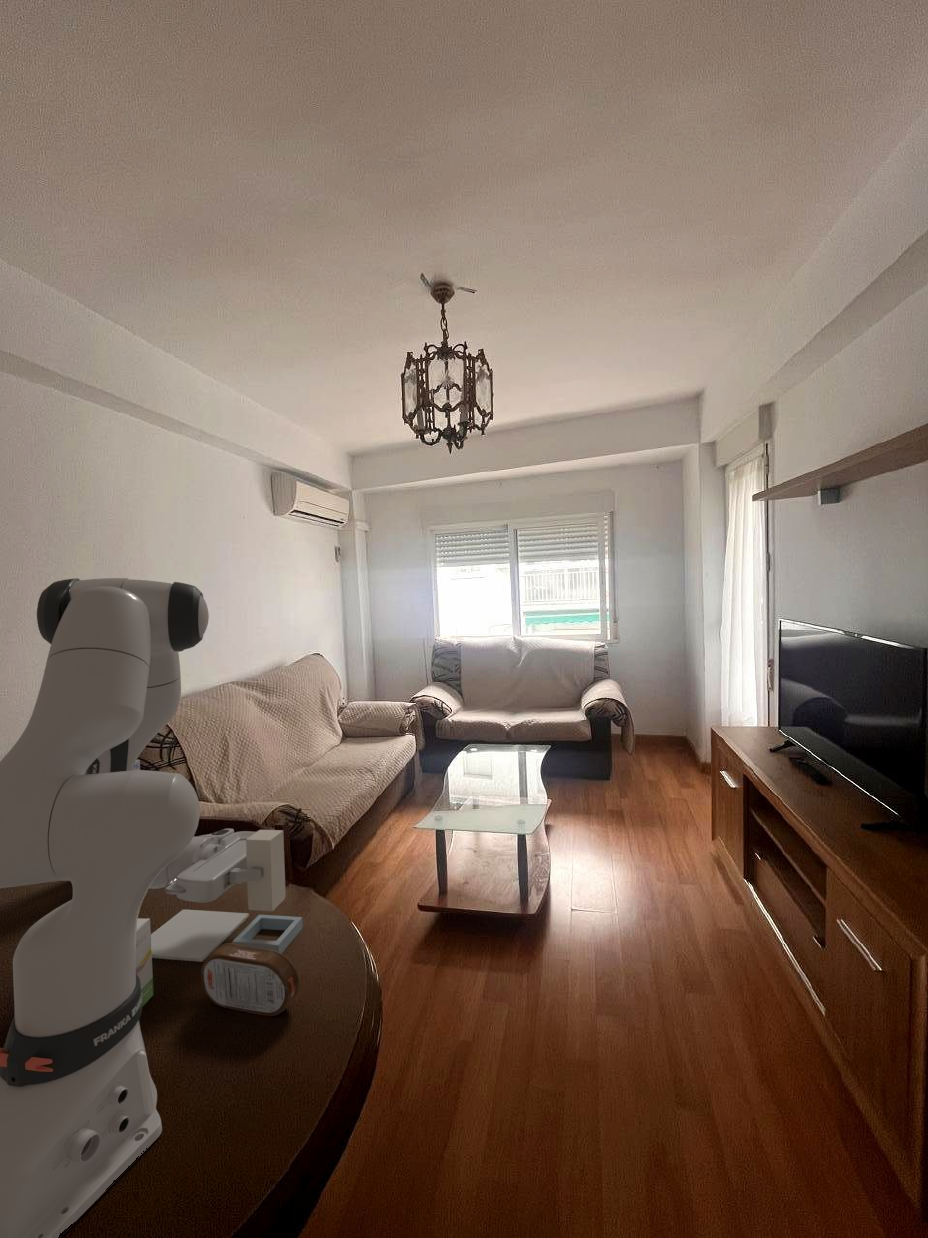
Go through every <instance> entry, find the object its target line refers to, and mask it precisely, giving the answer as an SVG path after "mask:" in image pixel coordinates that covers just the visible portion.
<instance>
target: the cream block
mask: <svg viewBox="0 0 928 1238" xmlns="http://www.w3.org/2000/svg"><path fill="white" fill-rule="evenodd" d="M255 832H256V833H255V834H253V835H252V836H250V837H249V838H247V839H246V858H247V869H252V868H253V867H262V868H263V869H264V872H263V873H264V876H263V877H262V878H261V879H260V880H259V881H248V882H246V884H247V909H248V911H261V912H274V911H275V909H277V908H278V907H279V906H280V905H281V903H282V902H283V901H284V900H285V899H286V871H285V849H284V848H285V844H284V842H285V841H284V840H285V839H284V830H283V829H282V830H281V829H280V830H279V829H277V830H276V829H259V830H257V831H255Z"/></svg>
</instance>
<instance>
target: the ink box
mask: <svg viewBox="0 0 928 1238" xmlns="http://www.w3.org/2000/svg"><path fill="white" fill-rule="evenodd" d="M151 931H152V930H151V918H138V920H137V930H136V974H137V975H138V976H139V978H140V985H141V993H142V1008H143V1007H144V1006H145V1005H146V1004H147V1003H148V1002H149V1000H151V999H152V997H153V996H154V978H153V977H154V974H153V958H152V950H151V934H152V933H151Z"/></svg>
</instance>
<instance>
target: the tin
mask: <svg viewBox="0 0 928 1238" xmlns="http://www.w3.org/2000/svg"><path fill="white" fill-rule="evenodd" d="M200 969H201V971H200V973H201V974H200V977H201V982H202V983H201V984H202V987H203V991H204V992H205V994H206V996H207V997H208V998H209V1000H211V1002H213V1003H214V1004H215V1005H217V1006H219V1007H221V1008H223V1009H224V1008H225V1009H230V1010H234V1011H239V1012H244V1013H251V1014H255V1015H259V1016H264V1017H274V1016H278V1015H279V1014H281V1013H282V1012H284V1011H285V1010H286V1008H288V1006H289V1005H290V1004H291V1003H292V1002H293V1001H294V999H296V997H297V996H298V993H299V989H300V979H299V974H298V971H297V969H296V967H295V966H294V964H293V963H292V961H291V960H290V959H289V958H288V957H287V956H286V955H284V954H283V953H282V954H281V953H279V952H277V951H274V950H268V949H262V948H255V947H249V946H243V945H238V944H232V942H229V943H226V942H225V943H224V944H222V943H221V944H220V945H219V946H218V947H217V948H216V949H215V950H214V951H213V952H212V953H211V954H210V955H209V956H208V957H207V958H205V959H204V961H203V963H202V966H201V968H200Z"/></svg>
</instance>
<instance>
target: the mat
mask: <svg viewBox="0 0 928 1238" xmlns="http://www.w3.org/2000/svg"><path fill="white" fill-rule="evenodd" d="M249 917H250V913H247V912H231V911H229V912H228V911H217V910H215V911H214V910H202V909H201V910H199V909H181V910H180V911H179V912H178V913H177V914H175V915H174V916H172V918H170V919H169V920H168V921H166V922H165V923H163V924H162V925H161V926H160V927H159V928H157V929H156V930H155V931H153V932H152V933H151V950H152V959H162V960H173V961H174V960H175V961H185V962H186V961H188V962H198V963H199V962H201V963H202V962H204V961H205V960H206V959H207V958H208V957H209V956H210V955H211V954H212V953H213V952H214V950H215V949H216V948H217V947H219V946H220V945H222V943H223V942H224V941H225V940H226V939H227V938H228V937H229V936H230V935H232V934H233V932H235V931H236V930H237V929H238V928H239V927H240V926H241V925H242V924H243V923H244V922H245V921H246V920H247V919H248V918H249Z"/></svg>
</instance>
